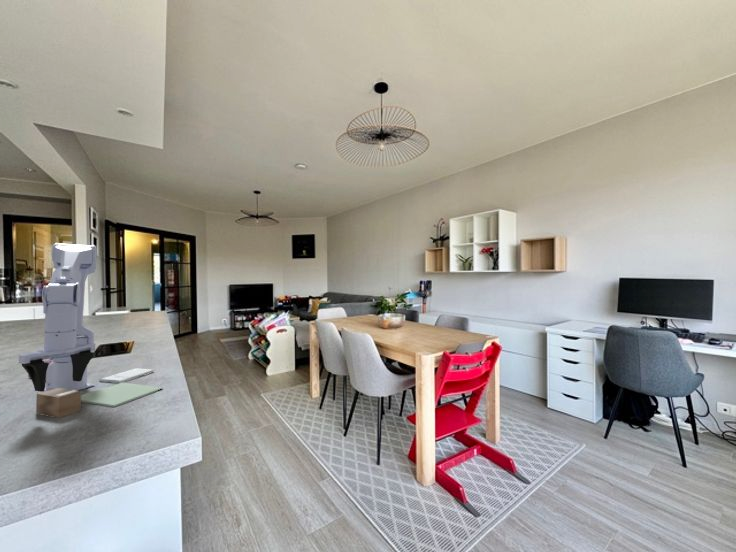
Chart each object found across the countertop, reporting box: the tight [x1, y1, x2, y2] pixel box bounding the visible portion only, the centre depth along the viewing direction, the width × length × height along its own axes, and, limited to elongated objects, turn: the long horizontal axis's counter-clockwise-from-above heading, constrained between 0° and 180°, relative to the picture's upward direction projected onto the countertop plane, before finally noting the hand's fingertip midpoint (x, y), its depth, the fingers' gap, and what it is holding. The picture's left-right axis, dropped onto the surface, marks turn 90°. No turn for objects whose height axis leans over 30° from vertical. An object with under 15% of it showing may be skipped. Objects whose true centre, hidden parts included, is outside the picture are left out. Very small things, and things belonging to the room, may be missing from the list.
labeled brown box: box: [35, 388, 82, 418], centre depth 77 cm, size 8×4×5 cm, turn 75°
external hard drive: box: [98, 367, 155, 384], centre depth 106 cm, size 2×8×12 cm
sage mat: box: [81, 382, 163, 408], centre depth 89 cm, size 16×14×1 cm
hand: (59, 385), depth 77 cm, fingers open, 7 cm apart
